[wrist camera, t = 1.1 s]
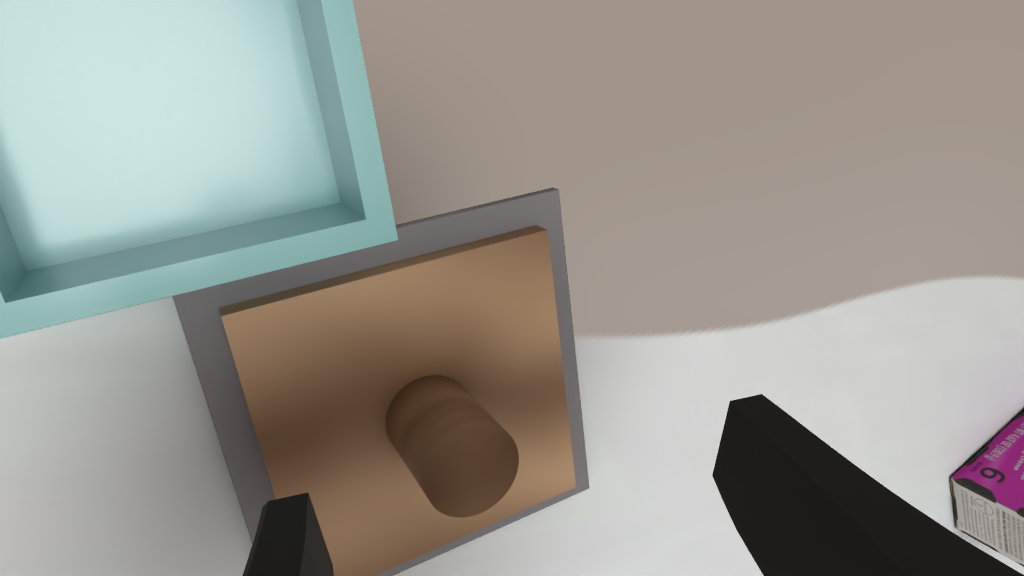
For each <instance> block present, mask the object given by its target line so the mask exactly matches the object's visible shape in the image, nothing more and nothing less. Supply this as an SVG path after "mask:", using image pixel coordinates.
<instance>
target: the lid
mask: <svg viewBox="0 0 1024 576" xmlns="http://www.w3.org/2000/svg"><path fill="white" fill-rule="evenodd" d="M219 311H220V314H221V318H222V321H223V324H224V328H225V331H226V334H227V338H228V341H229V344H230V348H231V351H232V355H233V358H234V361H235V365H236V368H237V371H238V375H239V378H240V381H241V385H242V388H243V391H244V395H245V398H246V401H247V405H248V408H249V411H250V415H251V418H252V421H253V425H254V428H255V431H256V435H257V438H258V441H259V445H260V448H261V451H262V455H263V458H264V461H265V465H266V468H267V472H268V475H269V478H270V482H271V485H272V488H273V492H274V495H275V498H276V499H280V498H284V497H289V496H294V495H298V494H303V493H307V492H308V493H309V495H310V498H311V501H312V504H313V507H314V510H315V513H316V516H317V519H318V522H319V525H320V528H321V531H322V534H323V537H324V540H325V543H326V546H327V549H328V552H329V555H330V558H331V561H332V564H333V572H334V576H375V575H377V574H380V573H382V572H384V571H386V570H389V569H391V568H393V567H396V566H398V565H400V564H402V563H405V562H407V561H409V560H411V559H414V558H416V557H418V556H421V555H423V554H425V553H427V552H430V551H432V550H434V549H436V548H439V547H441V546H443V545H446V544H448V543H450V542H452V541H455V540H457V539H459V538H461V537H464V536H466V535H468V534H471V533H473V532H475V531H477V530H480V529H482V528H484V527H486V526H489V525H491V524H493V523H496V522H498V521H500V520H502V519H505V518H507V517H509V516H511V515H514V514H516V513H518V512H521V511H523V510H525V509H527V508H530V507H532V506H534V505H536V504H539V503H541V502H543V501H545V500H548V499H550V498H552V497H555V496H557V495H559V494H561V493H564V492H566V491H568V490H570V489H573V488H575V487H576V482H575V472H574V463H573V454H572V445H571V436H570V427H569V418H568V409H567V400H566V391H565V382H564V373H563V364H562V355H561V346H560V337H559V328H558V319H557V310H556V301H555V292H554V283H553V274H552V265H551V256H550V247H549V238H548V230H547V229H544V228H542V227H539V226H537V225H534V226H531V227H527V228H523V229H519V230H515V231H511V232H508V233H504V234H500V235H496V236H492V237H488V238H484V239H481V240H477V241H473V242H469V243H465V244H461V245H458V246H454V247H450V248H446V249H442V250H438V251H435V252H431V253H427V254H423V255H419V256H415V257H412V258H408V259H404V260H400V261H396V262H392V263H389V264H385V265H381V266H377V267H373V268H369V269H365V270H362V271H358V272H354V273H350V274H346V275H342V276H339V277H335V278H331V279H327V280H323V281H319V282H316V283H312V284H308V285H304V286H300V287H296V288H293V289H289V290H285V291H281V292H277V293H273V294H269V295H266V296H262V297H258V298H254V299H250V300H246V301H243V302H239V303H235V304H231V305H227V306H223V307H220V308H219Z"/></svg>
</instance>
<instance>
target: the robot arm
mask: <svg viewBox="0 0 1024 576" xmlns="http://www.w3.org/2000/svg"><path fill="white" fill-rule="evenodd" d="M712 476H713V478H714V480H715V483H716V485H717V487H718V490H719V492H720V494H721V497H722V499H723V501H724V503H725V506H726V508H727V510H728V512H729V514H730V516H731V519H732V521H733V523H734V525H735V527H736V529H737V531H738V533H739V535H740V536H741V538H742V540H743V541H744V543H745V545H746V547H747V548H748V550H749V552H750V553H751V555H752V557H753V558H754V560H755V562H756V563H757V565H758V567H759V568H760V570H761V572H762V573H763V575H764V576H1024V575H1023V574H1021V573H1019V572H1017V571H1016V570H1014V569H1012V568H1011V567H1009V566H1007V565H1005V564H1004V563H1002V562H1000V561H999V560H997V559H995V558H994V557H992V556H990V555H988V554H987V553H985V552H983V551H982V550H980V549H978V548H977V547H975V546H973V545H972V544H970V543H968V542H967V541H965V540H964V539H962V538H960V537H959V536H957V535H956V534H954V533H952V532H951V531H949V530H948V529H946V528H945V527H943V526H942V525H940V524H939V523H937V522H936V521H934V520H933V519H931V518H930V517H928V516H927V515H925V514H924V513H922V512H921V511H919V510H918V509H916V508H915V507H913V506H912V505H910V504H909V503H907V502H906V501H904V500H903V499H901V498H900V497H899V496H897V495H896V494H894V493H893V492H891V491H890V490H889V489H887V488H886V487H884V486H883V485H882V484H880V483H879V482H877V481H876V480H875V479H873V478H872V477H870V476H869V475H868V474H866V473H865V472H864V471H862V470H861V469H859V468H858V467H857V466H855V465H854V464H853V463H851V462H850V461H849V460H847V459H846V458H845V457H843V456H842V455H841V454H839V453H838V452H837V451H835V450H834V449H833V448H831V447H830V446H829V445H827V444H826V443H825V442H824V441H822V440H821V439H820V438H818V437H817V436H816V435H814V434H813V433H812V432H810V431H809V430H808V429H807V428H805V427H804V426H803V425H801V424H800V423H799V422H797V421H796V420H795V419H794V418H792V417H791V416H790V415H788V414H787V413H786V412H785V411H783V410H782V409H781V408H779V407H778V406H777V405H775V404H774V403H773V402H771V401H770V400H769V399H767V398H766V397H765V396H763V395H762V394H761V395H756V396H751V397H747V398H742V399H737V400H733V401H730V404H729V408H728V412H727V416H726V420H725V425H724V429H723V433H722V437H721V442H720V446H719V450H718V454H717V458H716V463H715V467H714V471H713V475H712ZM243 576H334V572H333V564H332V561H331V558H330V555H329V552H328V549H327V546H326V543H325V540H324V537H323V534H322V531H321V528H320V525H319V522H318V519H317V516H316V513H315V510H314V507H313V504H312V501H311V498H310V495H309V493H308V492H307V493H303V494H298V495H294V496H289V497H284V498H280V499H275V500H270V501H268V502H267V503H266V504H265V505H264V506H263V507H262V511H261V515H260V519H259V523H258V527H257V531H256V534H255V538H254V541H253V545H252V548H251V551H250V555H249V558H248V561H247V564H246V567H245V570H244V573H243Z"/></svg>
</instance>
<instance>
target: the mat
mask: <svg viewBox="0 0 1024 576" xmlns="http://www.w3.org/2000/svg"><path fill="white" fill-rule="evenodd" d="M534 225H537V226H539V227H542V228H544V229H547V230H548V238H549V247H550V256H551V265H552V274H553V283H554V292H555V301H556V310H557V319H558V328H559V337H560V346H561V355H562V364H563V373H564V382H565V391H566V400H567V409H568V418H569V427H570V436H571V445H572V454H573V463H574V472H575V482H576V487H575V488H573V489H570V490H568V491H566V492H564V493H561V494H559V495H557V496H555V497H552V498H550V499H548V500H545V501H543V502H541V503H539V504H536V505H534V506H532V507H530V508H527V509H525V510H523V511H521V512H518V513H516V514H514V515H511V516H509V517H507V518H505V519H502V520H500V521H498V522H496V523H493V524H491V525H489V526H486V527H484V528H482V529H480V530H477V531H475V532H473V533H471V534H468V535H466V536H464V537H461V538H459V539H457V540H455V541H452V542H450V543H448V544H446V545H443V546H441V547H439V548H436V549H434V550H432V551H430V552H427V553H425V554H423V555H421V556H418V557H416V558H414V559H411V560H409V561H407V562H405V563H402V564H400V565H398V566H396V567H393V568H391V569H389V570H386V571H384V572H382V573H380V574H377V575H375V576H393V575H395V574H397V573H400V572H402V571H404V570H406V569H409V568H411V567H413V566H415V565H418V564H420V563H422V562H424V561H427V560H429V559H431V558H433V557H436V556H438V555H440V554H442V553H445V552H447V551H449V550H451V549H454V548H456V547H458V546H460V545H463V544H465V543H467V542H469V541H472V540H474V539H476V538H478V537H481V536H483V535H485V534H487V533H490V532H492V531H494V530H496V529H499V528H501V527H503V526H505V525H508V524H510V523H512V522H514V521H517V520H519V519H521V518H523V517H526V516H528V515H530V514H532V513H535V512H537V511H539V510H541V509H544V508H546V507H548V506H550V505H553V504H555V503H557V502H559V501H562V500H564V499H566V498H568V497H571V496H573V495H575V494H577V493H579V492H582V491H584V490H586V489H588V488H589V480H588V470H587V461H586V451H585V441H584V431H583V422H582V412H581V402H580V392H579V383H578V373H577V363H576V353H575V344H574V334H573V324H572V314H571V305H570V295H569V285H568V275H567V266H566V256H565V246H564V237H563V227H562V218H561V207H560V198H559V189H556V188H549V189H545V190H541V191H537V192H533V193H528V194H524V195H520V196H516V197H512V198H507V199H504V200H499V201H496V202H491V203H487V204H483V205H478V206H474V207H470V208H466V209H462V210H457V211H453V212H449V213H445V214H441V215H436V216H432V217H428V218H424V219H420V220H415V221H411V222H407V223H403V224H399V225H396V231H397V236H398V240H396V241H392V242H388V243H384V244H380V245H376V246H372V247H368V248H364V249H360V250H356V251H352V252H348V253H344V254H340V255H336V256H332V257H328V258H324V259H320V260H316V261H311V262H307V263H303V264H299V265H295V266H291V267H287V268H283V269H279V270H275V271H271V272H267V273H263V274H259V275H255V276H251V277H247V278H243V279H239V280H235V281H231V282H227V283H223V284H219V285H215V286H211V287H207V288H203V289H199V290H195V291H191V292H187V293H182V294H178V295H174V296H173V298H174V302H175V305H176V308H177V311H178V314H179V317H180V320H181V323H182V326H183V329H184V333H185V336H186V339H187V342H188V345H189V348H190V351H191V354H192V357H193V360H194V364H195V367H196V370H197V373H198V376H199V379H200V382H201V385H202V388H203V391H204V395H205V398H206V401H207V404H208V407H209V410H210V413H211V416H212V419H213V422H214V426H215V429H216V432H217V435H218V438H219V441H220V444H221V447H222V450H223V453H224V457H225V460H226V463H227V466H228V469H229V472H230V475H231V478H232V481H233V484H234V488H235V491H236V494H237V497H238V500H239V503H240V506H241V509H242V512H243V515H244V519H245V522H246V525H247V528H248V531H249V534H250V537H251V540H252V543H253V541H254V538H255V534H256V531H257V527H258V523H259V519H260V515H261V511H262V507H263V506H264V505H265V504H266V503H267V502H268V501H270V500H275V499H276V498H275V495H274V492H273V488H272V485H271V482H270V478H269V475H268V472H267V468H266V465H265V461H264V458H263V455H262V451H261V448H260V445H259V441H258V438H257V435H256V431H255V428H254V425H253V421H252V418H251V415H250V411H249V408H248V405H247V401H246V398H245V395H244V391H243V388H242V385H241V381H240V378H239V375H238V371H237V368H236V365H235V361H234V358H233V355H232V351H231V348H230V344H229V341H228V338H227V334H226V331H225V328H224V324H223V321H222V318H221V314H220V311H219V308H220V307H223V306H227V305H231V304H235V303H239V302H243V301H246V300H250V299H254V298H258V297H262V296H266V295H269V294H273V293H277V292H281V291H285V290H289V289H293V288H296V287H300V286H304V285H308V284H312V283H316V282H319V281H323V280H327V279H331V278H335V277H339V276H342V275H346V274H350V273H354V272H358V271H362V270H365V269H369V268H373V267H377V266H381V265H385V264H389V263H392V262H396V261H400V260H404V259H408V258H412V257H415V256H419V255H423V254H427V253H431V252H435V251H438V250H442V249H446V248H450V247H454V246H458V245H461V244H465V243H469V242H473V241H477V240H481V239H484V238H488V237H492V236H496V235H500V234H504V233H508V232H511V231H515V230H519V229H523V228H527V227H531V226H534Z"/></svg>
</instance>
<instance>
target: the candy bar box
mask: <svg viewBox="0 0 1024 576" xmlns="http://www.w3.org/2000/svg"><path fill="white" fill-rule="evenodd" d="M950 488H951V494H952V498H953V504H954V511H955V520H956V527H957V529H958V530H960V531H961V532H963V533H965V534H967V535H968V536H970V537H972V538H974V539H975V540H977V541H979V542H981V543H983V544H984V545H986V546H988V547H990V548H992V549H993V550H995V551H997V552H999V553H1001V554H1003V555H1004V556H1006V557H1008V558H1009V559H1011V560H1013V561H1015V562H1016V563H1018V564H1020V565H1022V566H1024V411H1023V412H1022V413H1021V414H1020V415H1019V416H1018V417H1017V418H1016V419H1014V420H1013V421H1012V422H1011V423H1010V424H1009V425H1008V426H1007V427H1006V428H1005V429H1004V430H1002V431H1001V432H1000V433H999V434H998V435H997V436H996V437H995V438H994V439H993V440H992V441H991V442H989V443H988V444H987V445H986V446H985V447H984V448H983V449H982V450H981V451H980V452H979V453H977V454H976V455H975V456H974V457H973V458H972V459H971V460H970V461H968V462H967V463H966V464H965V465H964V466H963V467H962V468H961V469H960V470H959V471H958V472H956V473H955V474H954V475H953V476H952V477H951V481H950Z"/></svg>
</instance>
